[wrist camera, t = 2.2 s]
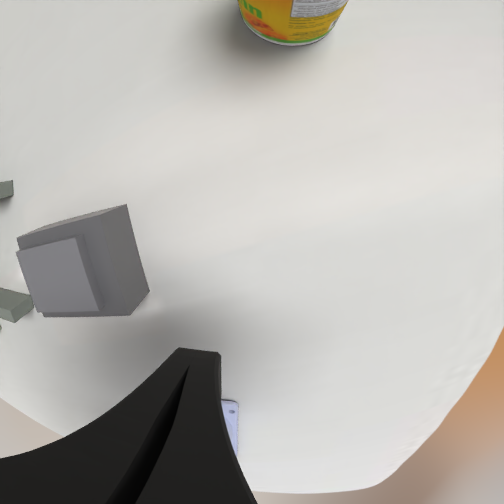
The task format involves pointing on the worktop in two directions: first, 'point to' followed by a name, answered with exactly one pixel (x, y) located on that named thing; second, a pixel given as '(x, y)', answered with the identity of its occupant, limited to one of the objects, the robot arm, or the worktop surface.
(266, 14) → the supplement bottle
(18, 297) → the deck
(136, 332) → the worktop surface
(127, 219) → the dark grey block
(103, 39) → the worktop surface
